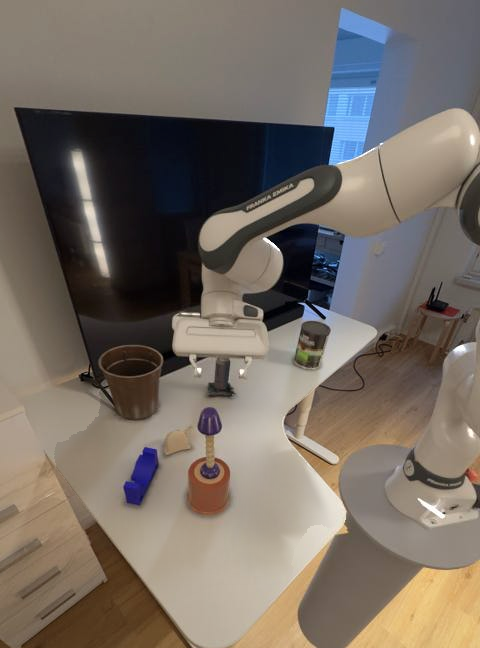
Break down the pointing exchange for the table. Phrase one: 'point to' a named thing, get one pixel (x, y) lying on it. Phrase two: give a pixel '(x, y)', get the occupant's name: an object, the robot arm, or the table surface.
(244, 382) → the table surface
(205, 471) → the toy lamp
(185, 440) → the decorative ornament
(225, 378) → the post on square base
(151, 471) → the blue notched block
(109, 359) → the plant pot
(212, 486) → the cup
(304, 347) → the coffee can
